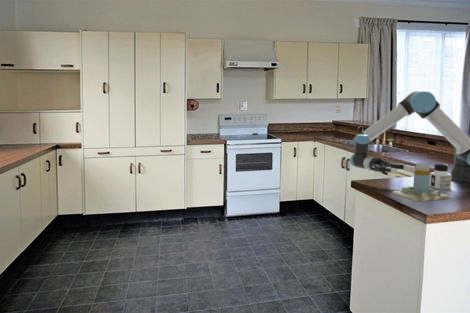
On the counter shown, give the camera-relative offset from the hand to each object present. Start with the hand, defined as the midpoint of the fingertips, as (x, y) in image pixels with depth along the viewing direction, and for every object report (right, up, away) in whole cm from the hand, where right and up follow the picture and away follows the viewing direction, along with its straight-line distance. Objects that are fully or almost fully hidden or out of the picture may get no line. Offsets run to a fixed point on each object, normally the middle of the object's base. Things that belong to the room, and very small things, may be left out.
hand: (405, 170), depth 194 cm
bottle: (+4, -11, -7) cm, 14 cm away
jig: (+4, -12, -7) cm, 15 cm away
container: (+24, -10, +12) cm, 28 cm away
